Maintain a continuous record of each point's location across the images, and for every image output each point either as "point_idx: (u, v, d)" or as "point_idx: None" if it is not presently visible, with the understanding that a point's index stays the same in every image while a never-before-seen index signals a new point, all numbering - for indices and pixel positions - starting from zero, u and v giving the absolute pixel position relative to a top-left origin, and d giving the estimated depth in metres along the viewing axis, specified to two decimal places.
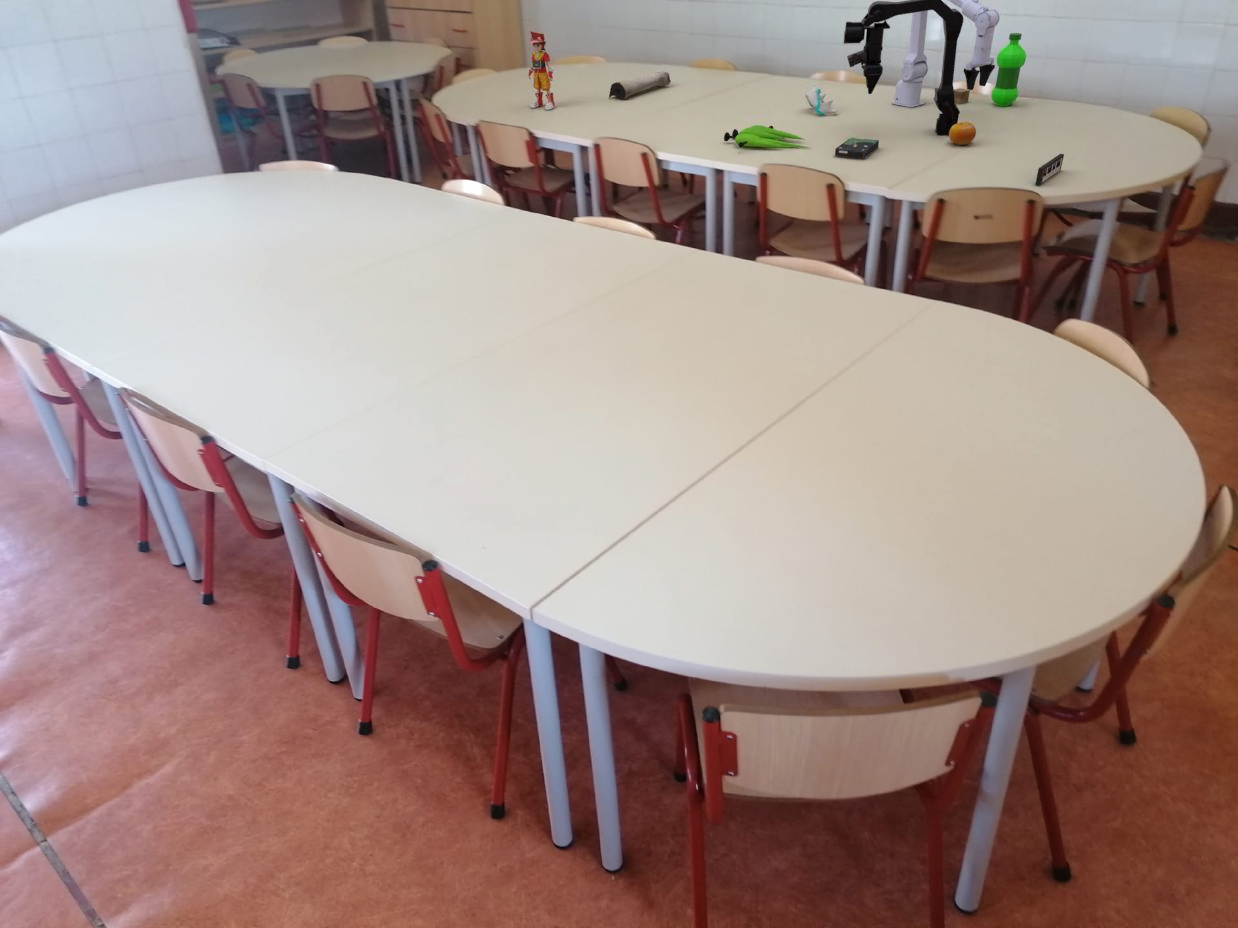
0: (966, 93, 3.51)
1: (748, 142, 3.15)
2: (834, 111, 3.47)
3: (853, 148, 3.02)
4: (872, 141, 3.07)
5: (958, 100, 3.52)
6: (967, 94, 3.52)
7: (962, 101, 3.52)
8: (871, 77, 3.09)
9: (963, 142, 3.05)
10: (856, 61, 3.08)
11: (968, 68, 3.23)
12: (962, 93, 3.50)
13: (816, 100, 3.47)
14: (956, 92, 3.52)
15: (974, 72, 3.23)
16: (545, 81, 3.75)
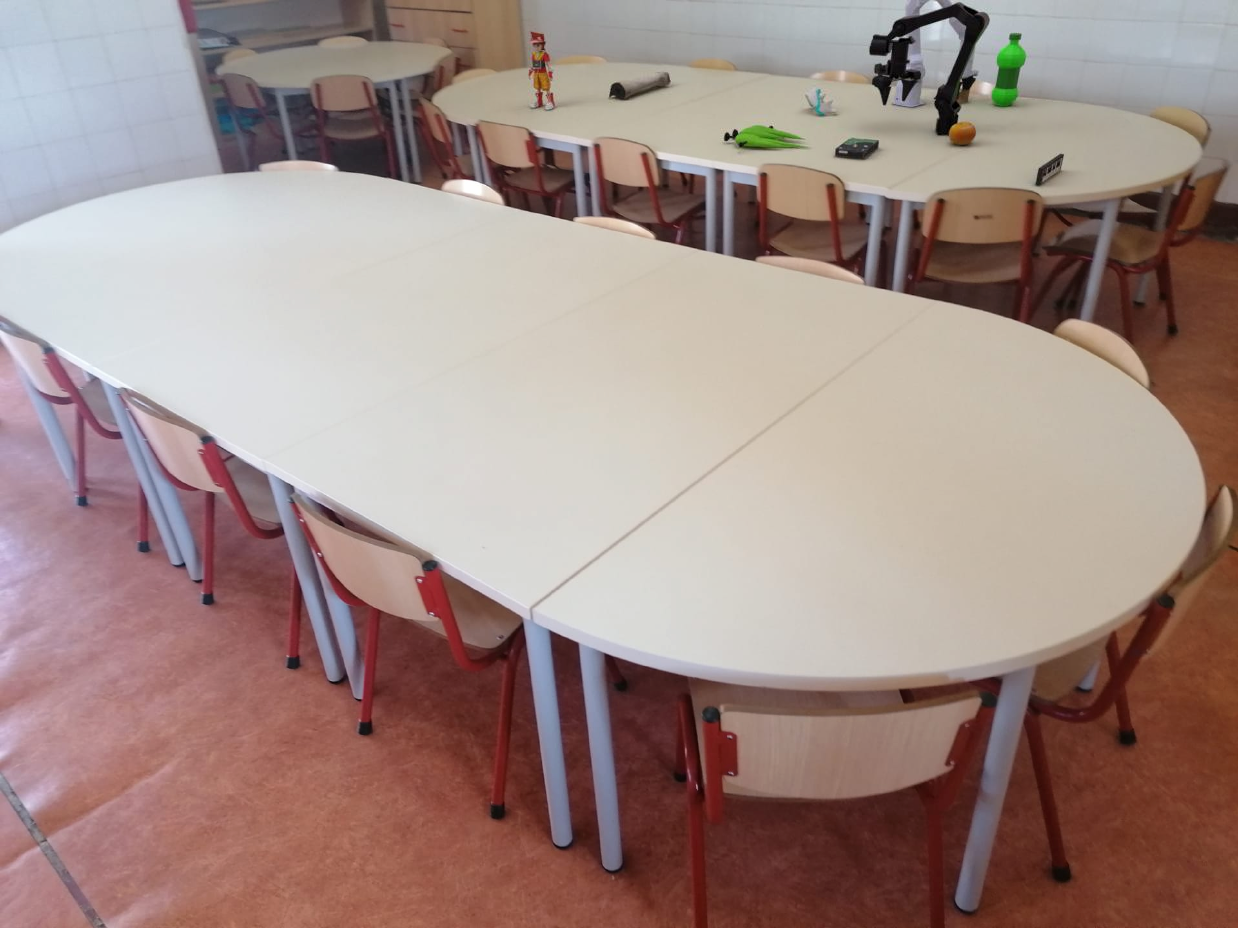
0: (966, 93, 3.51)
1: (748, 142, 3.15)
2: (834, 111, 3.47)
3: (853, 148, 3.02)
4: (872, 141, 3.07)
5: (958, 100, 3.52)
6: (967, 94, 3.52)
7: (962, 101, 3.52)
8: (883, 89, 3.20)
9: (963, 142, 3.05)
10: (877, 71, 3.21)
11: None
12: (962, 93, 3.50)
13: (816, 100, 3.47)
14: None
15: None
16: (545, 81, 3.75)
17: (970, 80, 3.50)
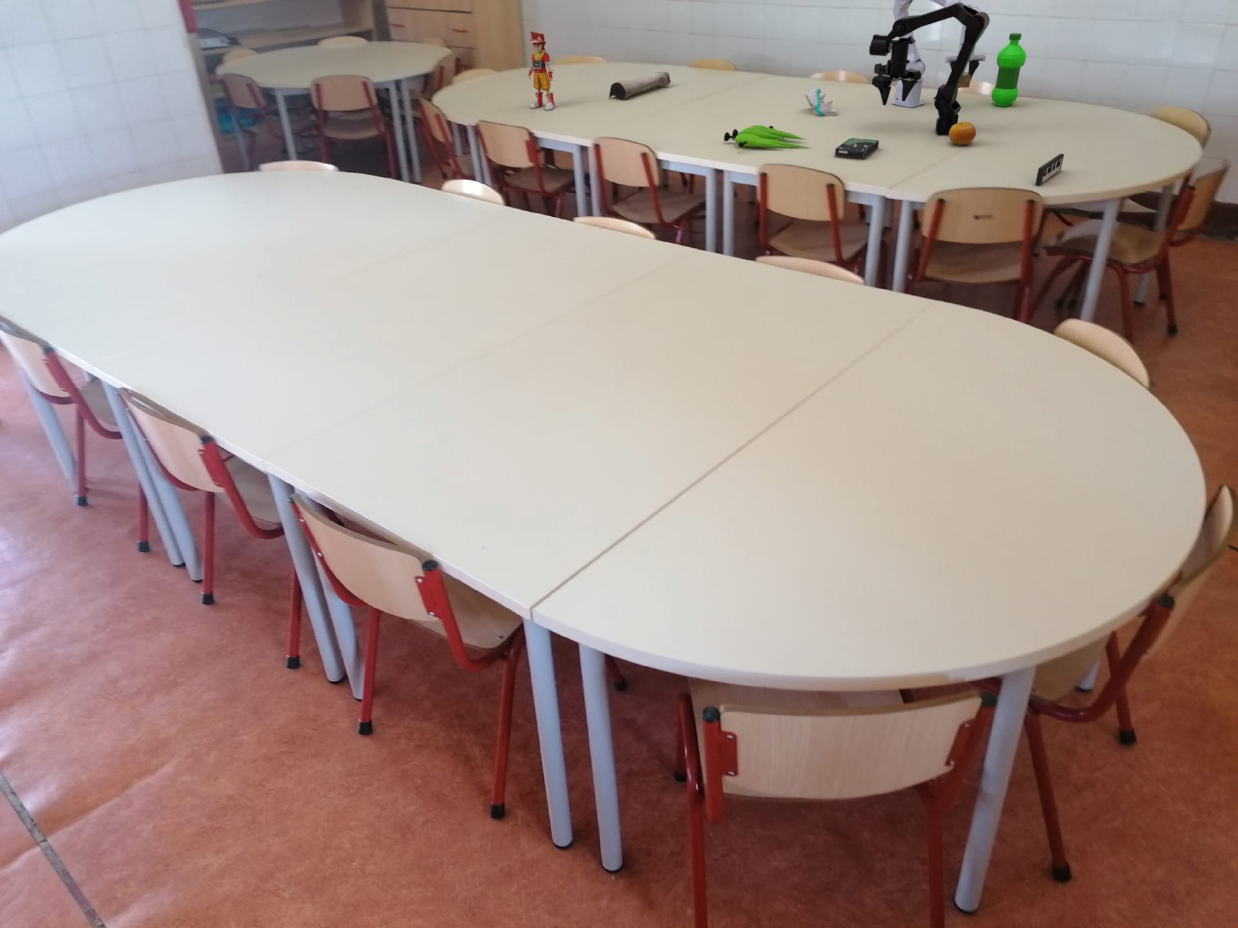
0: (966, 78, 3.39)
1: (748, 142, 3.15)
2: (834, 111, 3.47)
3: (853, 148, 3.02)
4: (872, 141, 3.07)
5: None
6: (967, 78, 3.39)
7: (960, 85, 3.40)
8: (883, 89, 3.20)
9: (963, 142, 3.05)
10: (877, 71, 3.21)
11: None
12: None
13: (816, 100, 3.47)
14: None
15: None
16: (545, 81, 3.75)
17: (972, 64, 3.37)
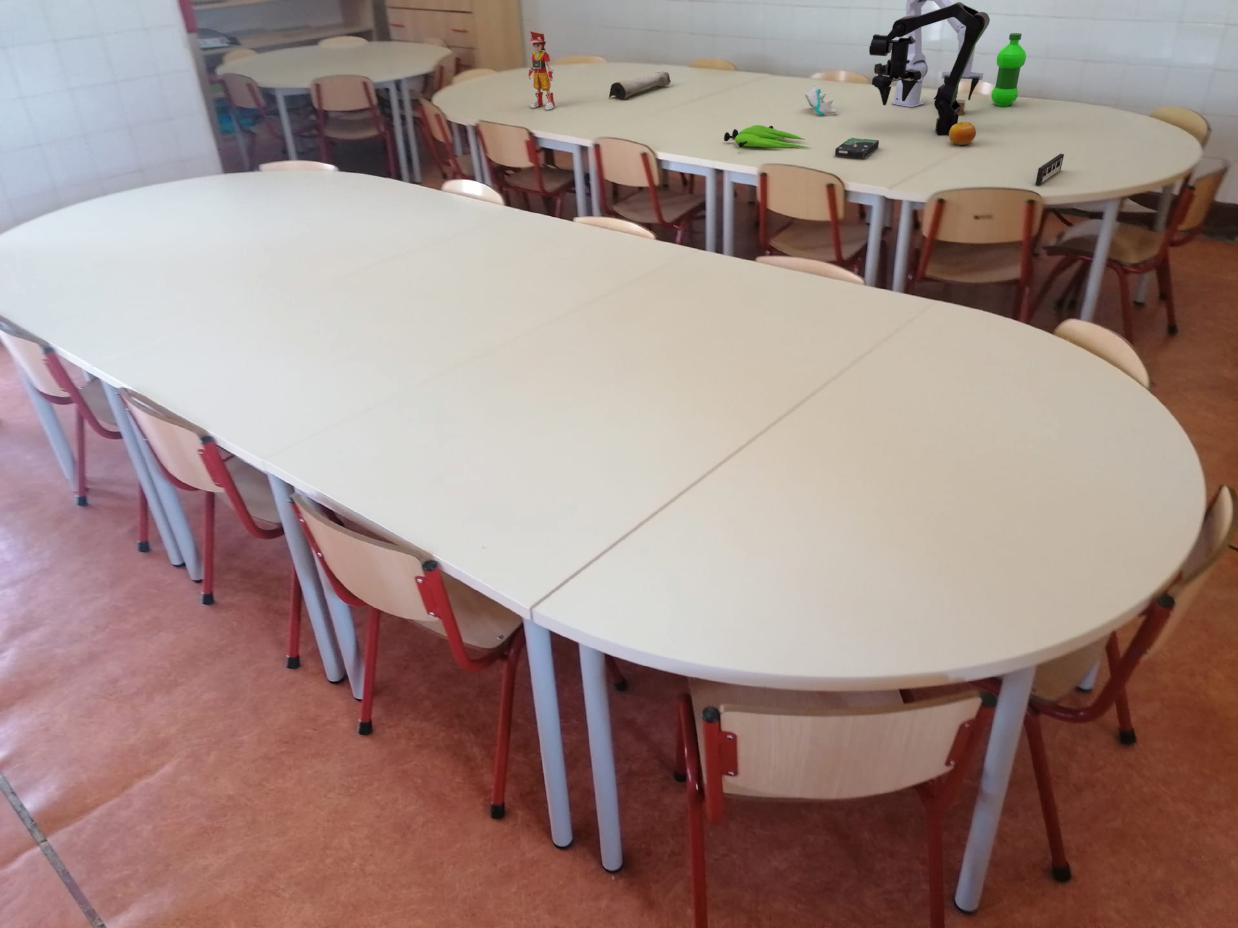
0: None
1: (748, 142, 3.15)
2: (834, 111, 3.47)
3: (853, 148, 3.02)
4: (872, 141, 3.07)
5: None
6: None
7: None
8: (883, 89, 3.20)
9: (963, 142, 3.05)
10: (877, 71, 3.21)
11: (982, 77, 3.32)
12: None
13: (816, 100, 3.47)
14: None
15: None
16: (545, 81, 3.75)
17: None
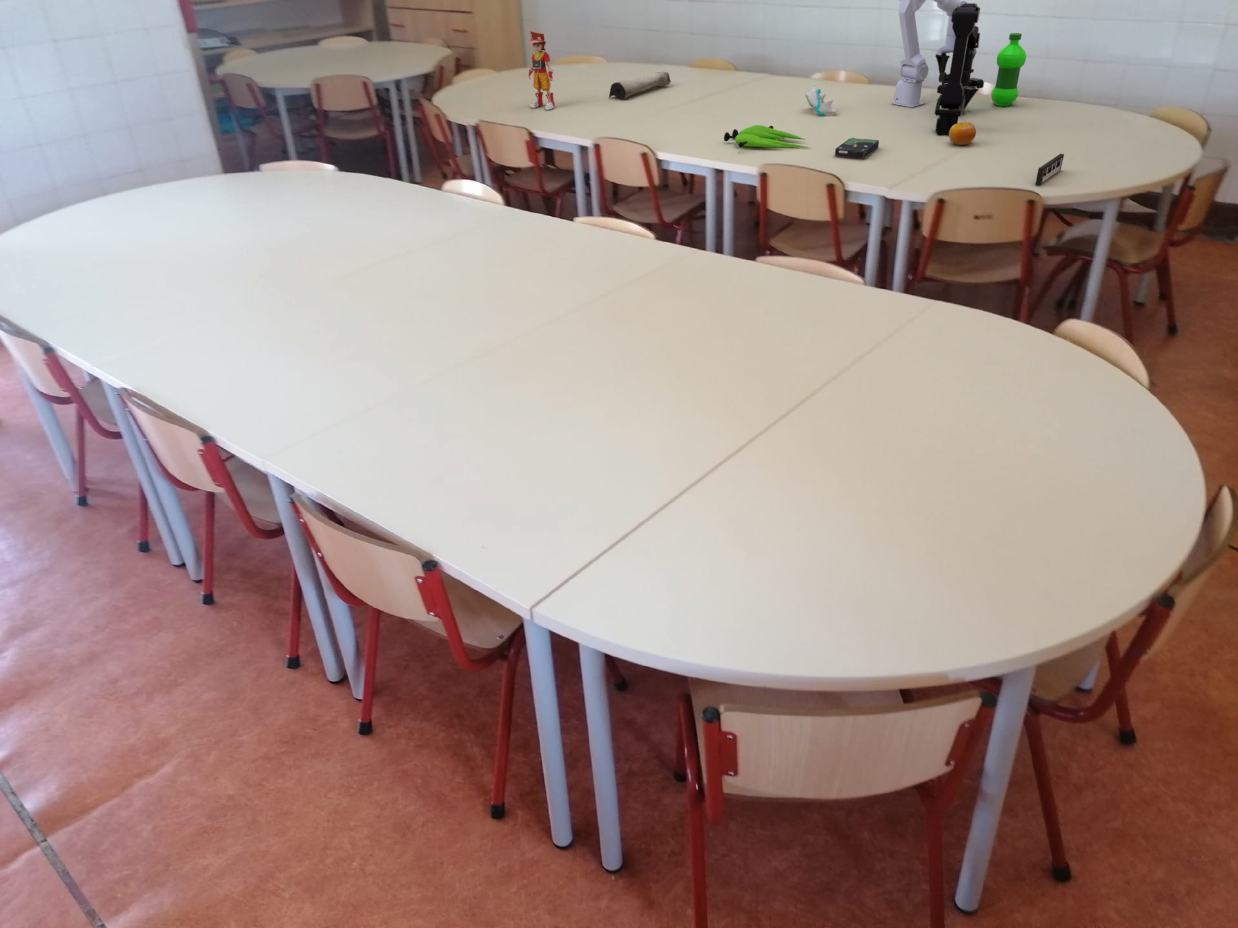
0: None
1: (748, 142, 3.15)
2: (834, 111, 3.47)
3: (853, 148, 3.02)
4: (872, 141, 3.07)
5: None
6: (960, 106, 3.37)
7: None
8: None
9: (963, 142, 3.05)
10: (942, 80, 3.37)
11: None
12: None
13: (816, 100, 3.47)
14: None
15: None
16: (545, 81, 3.75)
17: None
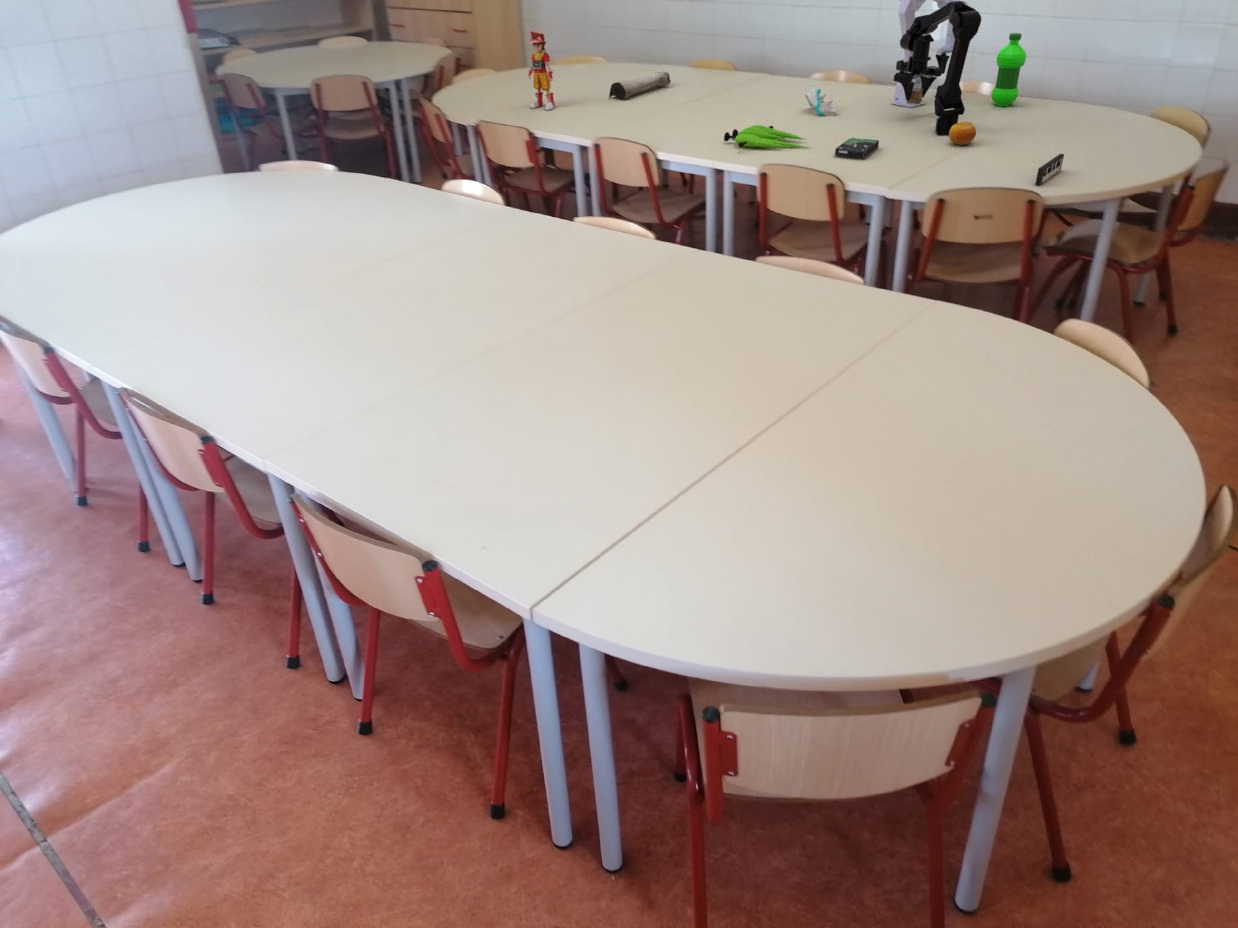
0: (917, 94, 3.31)
1: (748, 142, 3.15)
2: (834, 111, 3.47)
3: (853, 148, 3.02)
4: (872, 141, 3.07)
5: None
6: (918, 95, 3.31)
7: (911, 101, 3.33)
8: (907, 85, 3.30)
9: (963, 142, 3.05)
10: (899, 68, 3.31)
11: None
12: None
13: (816, 100, 3.47)
14: None
15: None
16: (545, 81, 3.75)
17: None
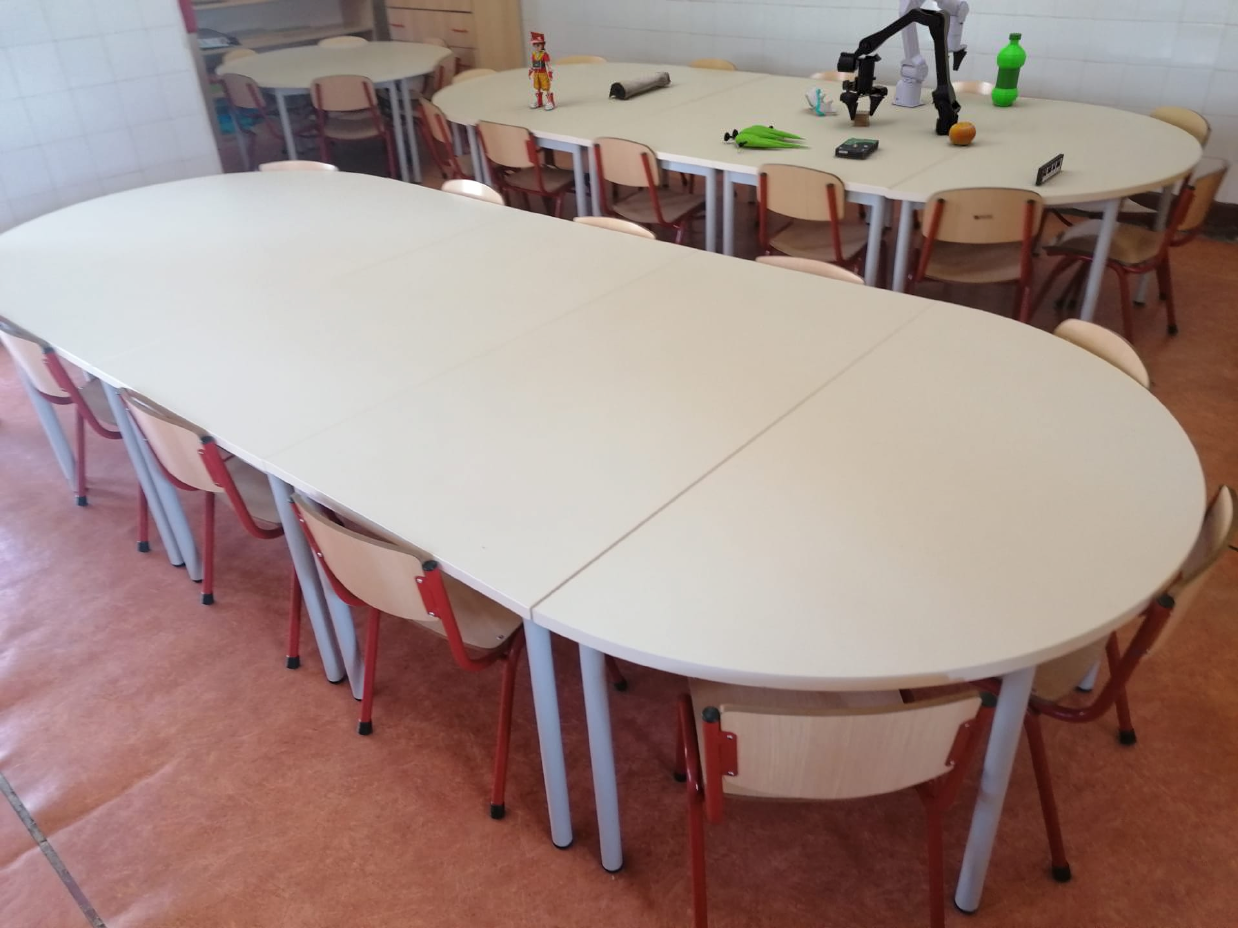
0: (863, 116, 3.31)
1: (748, 142, 3.15)
2: (834, 111, 3.47)
3: (853, 148, 3.02)
4: (872, 141, 3.07)
5: (854, 121, 3.34)
6: (864, 117, 3.31)
7: (857, 124, 3.33)
8: (851, 105, 3.29)
9: (963, 142, 3.05)
10: (845, 87, 3.31)
11: None
12: (856, 115, 3.32)
13: (816, 100, 3.47)
14: None
15: None
16: (545, 81, 3.75)
17: (961, 53, 3.54)
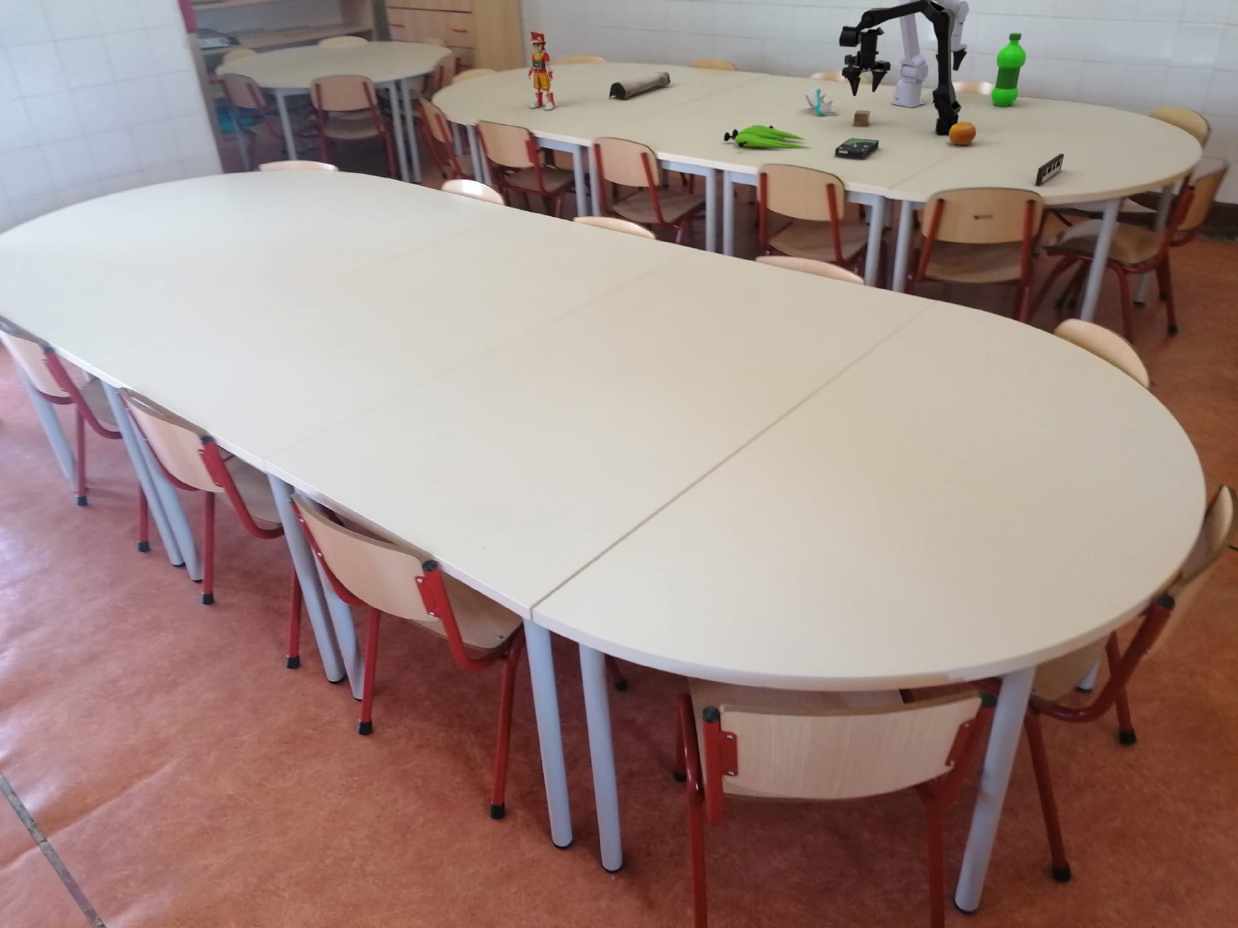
0: (863, 116, 3.31)
1: (748, 142, 3.15)
2: (834, 111, 3.47)
3: (853, 148, 3.02)
4: (872, 141, 3.07)
5: (854, 121, 3.34)
6: (864, 117, 3.31)
7: (857, 124, 3.33)
8: (853, 80, 3.24)
9: (963, 142, 3.05)
10: (847, 62, 3.26)
11: None
12: (856, 115, 3.32)
13: (816, 100, 3.47)
14: None
15: None
16: (545, 81, 3.75)
17: (961, 53, 3.54)
